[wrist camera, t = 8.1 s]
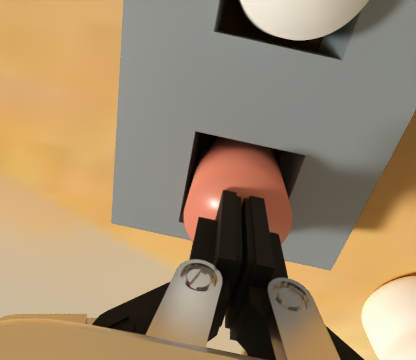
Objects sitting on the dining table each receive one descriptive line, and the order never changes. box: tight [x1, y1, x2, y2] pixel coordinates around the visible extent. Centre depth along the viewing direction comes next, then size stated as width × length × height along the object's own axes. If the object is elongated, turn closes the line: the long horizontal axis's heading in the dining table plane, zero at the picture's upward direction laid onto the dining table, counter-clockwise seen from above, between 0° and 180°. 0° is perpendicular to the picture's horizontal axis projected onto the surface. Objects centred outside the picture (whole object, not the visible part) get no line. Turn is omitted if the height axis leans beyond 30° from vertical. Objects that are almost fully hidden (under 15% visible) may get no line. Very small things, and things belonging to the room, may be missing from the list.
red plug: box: [184, 137, 292, 245], centre depth 14 cm, size 4×4×4 cm
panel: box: [111, 0, 416, 270], centre depth 14 cm, size 12×16×4 cm
